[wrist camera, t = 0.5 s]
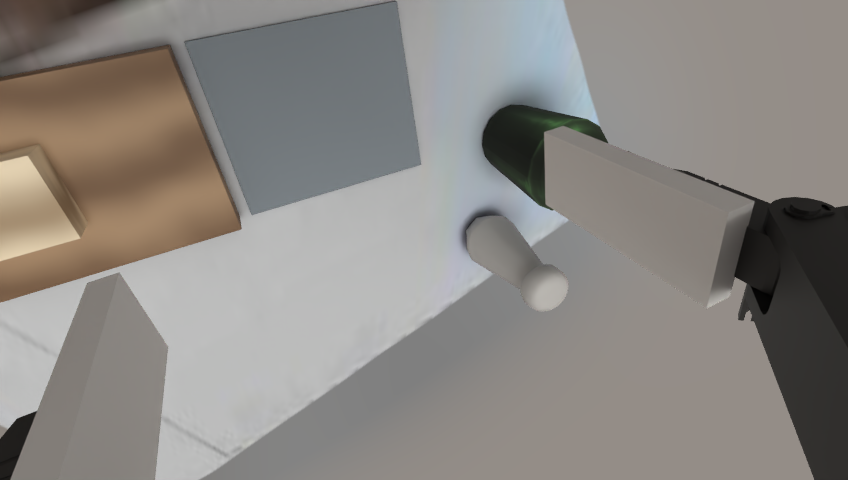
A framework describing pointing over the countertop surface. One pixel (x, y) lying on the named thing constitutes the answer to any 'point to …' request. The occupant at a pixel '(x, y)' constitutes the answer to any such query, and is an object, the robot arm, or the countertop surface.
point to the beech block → (34, 204)
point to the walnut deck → (115, 163)
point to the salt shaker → (515, 262)
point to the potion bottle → (528, 144)
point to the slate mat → (310, 103)
